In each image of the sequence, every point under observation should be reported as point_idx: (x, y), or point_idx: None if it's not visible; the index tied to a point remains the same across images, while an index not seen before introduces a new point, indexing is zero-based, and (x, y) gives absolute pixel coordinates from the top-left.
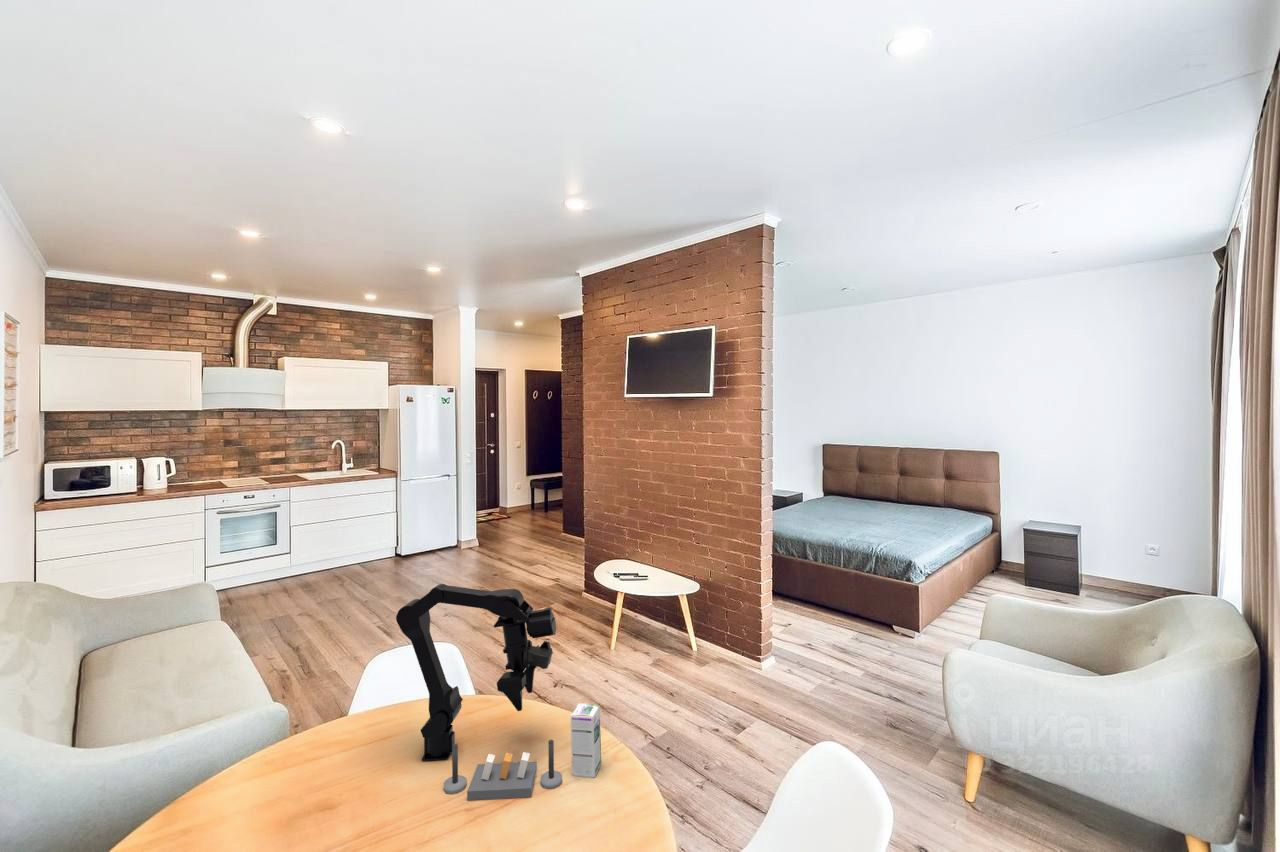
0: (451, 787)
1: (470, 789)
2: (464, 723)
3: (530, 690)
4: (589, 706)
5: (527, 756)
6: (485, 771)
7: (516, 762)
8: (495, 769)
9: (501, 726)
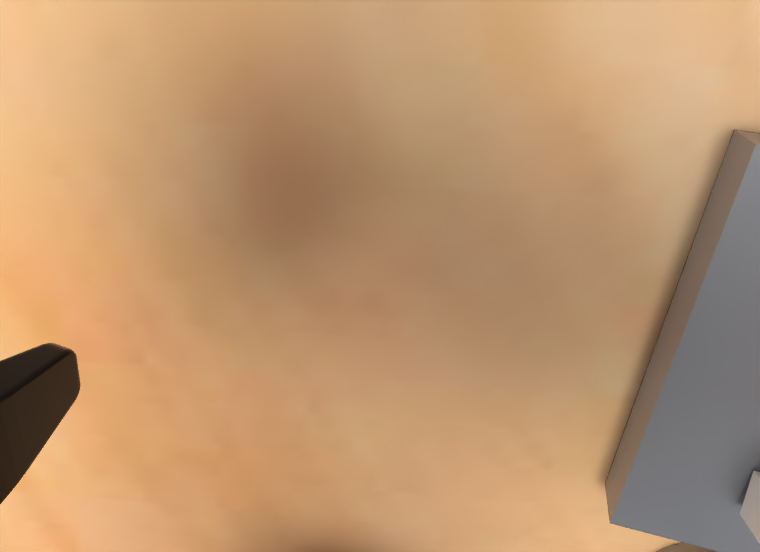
0: None
1: None
2: (107, 497)
3: (50, 387)
4: None
5: None
6: None
7: (694, 305)
8: (728, 442)
9: (133, 336)
